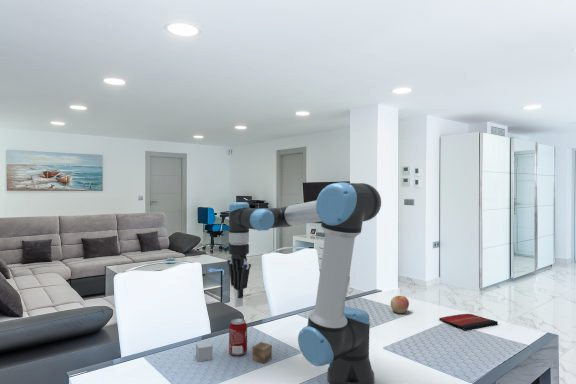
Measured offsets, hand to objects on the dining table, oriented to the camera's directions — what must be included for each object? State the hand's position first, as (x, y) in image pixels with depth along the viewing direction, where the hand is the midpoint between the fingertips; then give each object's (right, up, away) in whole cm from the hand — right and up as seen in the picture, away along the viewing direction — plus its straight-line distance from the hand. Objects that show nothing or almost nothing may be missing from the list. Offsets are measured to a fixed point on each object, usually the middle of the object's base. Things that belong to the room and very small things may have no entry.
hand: (238, 305), depth 146 cm
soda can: (0, -18, 0) cm, 18 cm away
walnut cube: (+9, -18, -5) cm, 21 cm away
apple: (+75, -18, +49) cm, 91 cm away
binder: (+103, -19, +36) cm, 110 cm away
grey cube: (-12, -18, -4) cm, 22 cm away
